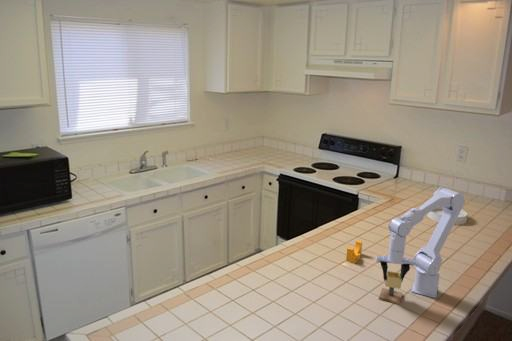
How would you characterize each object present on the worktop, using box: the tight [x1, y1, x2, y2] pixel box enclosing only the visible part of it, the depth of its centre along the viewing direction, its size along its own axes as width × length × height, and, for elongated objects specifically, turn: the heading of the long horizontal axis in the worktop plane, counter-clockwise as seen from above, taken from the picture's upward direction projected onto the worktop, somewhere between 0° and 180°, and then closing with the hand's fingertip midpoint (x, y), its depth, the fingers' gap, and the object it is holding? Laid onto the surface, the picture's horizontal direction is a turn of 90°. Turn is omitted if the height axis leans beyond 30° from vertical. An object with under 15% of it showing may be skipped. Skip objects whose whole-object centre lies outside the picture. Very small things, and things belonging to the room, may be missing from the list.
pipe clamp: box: [345, 239, 363, 264], centre depth 208 cm, size 12×4×6 cm, turn 144°
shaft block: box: [378, 287, 403, 305], centre depth 174 cm, size 8×8×4 cm
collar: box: [383, 270, 403, 289], centre depth 173 cm, size 6×6×4 cm
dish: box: [426, 206, 468, 226], centre depth 265 cm, size 22×22×5 cm
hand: (392, 279), depth 173 cm, fingers closed on collar, 6 cm apart
